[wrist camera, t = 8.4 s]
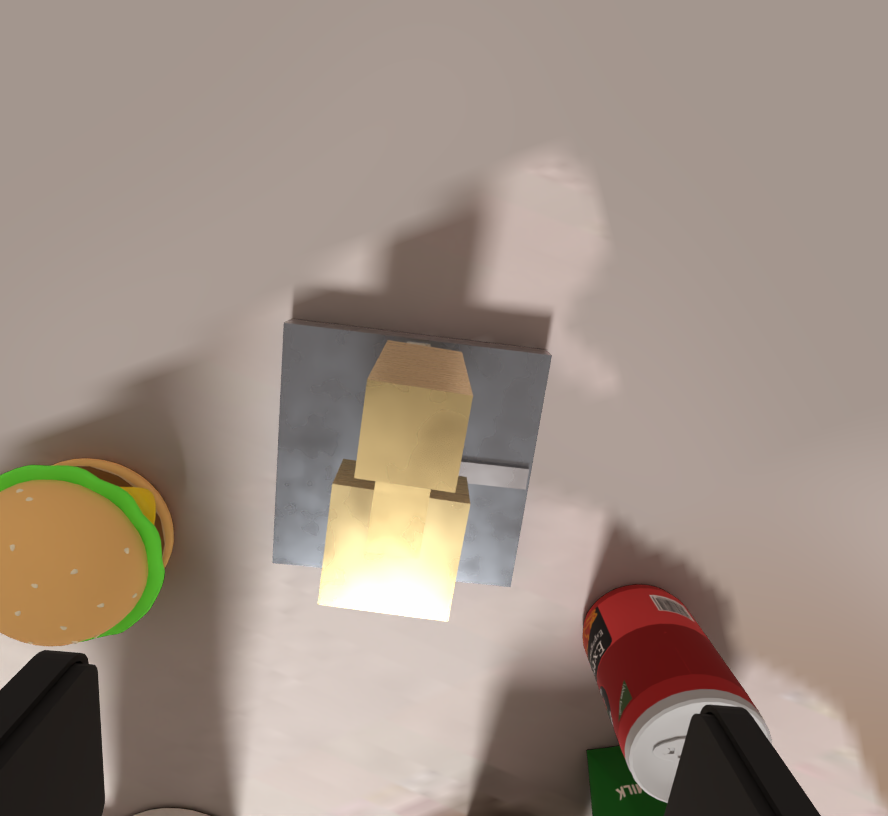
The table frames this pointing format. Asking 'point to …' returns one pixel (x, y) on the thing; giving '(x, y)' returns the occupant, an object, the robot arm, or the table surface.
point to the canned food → (655, 678)
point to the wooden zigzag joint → (402, 489)
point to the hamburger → (79, 550)
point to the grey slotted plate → (339, 423)
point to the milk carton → (617, 787)
